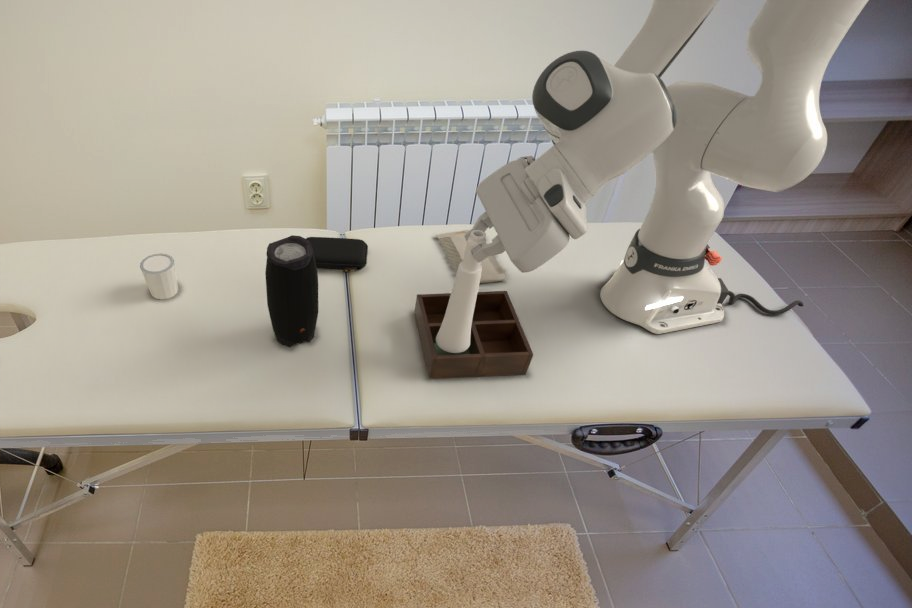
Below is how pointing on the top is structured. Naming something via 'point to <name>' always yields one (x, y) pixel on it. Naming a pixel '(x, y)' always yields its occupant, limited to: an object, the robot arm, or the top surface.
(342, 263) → the carrying case
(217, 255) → the top surface
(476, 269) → the cosmetic bottle
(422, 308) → the organiser
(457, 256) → the grooming comb
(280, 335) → the portable speaker
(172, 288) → the shot glass
